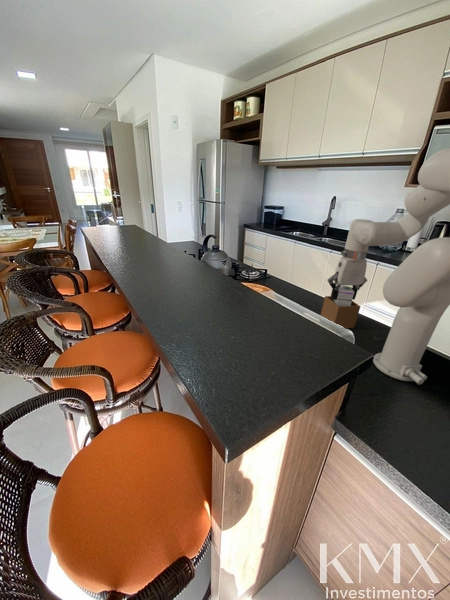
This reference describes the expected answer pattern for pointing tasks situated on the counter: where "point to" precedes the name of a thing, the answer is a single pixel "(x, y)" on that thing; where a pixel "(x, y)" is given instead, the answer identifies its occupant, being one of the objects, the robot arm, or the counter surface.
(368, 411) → the counter surface
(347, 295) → the syrup box
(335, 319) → the brown open bin
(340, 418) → the counter surface
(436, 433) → the counter surface
